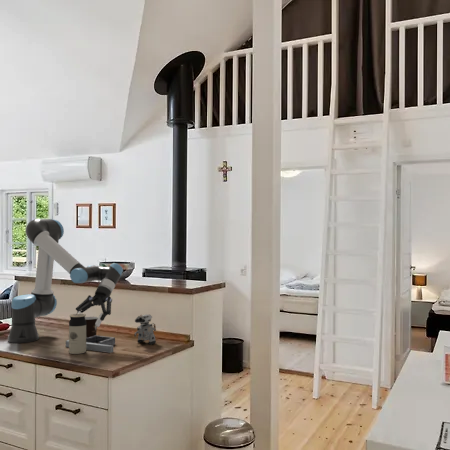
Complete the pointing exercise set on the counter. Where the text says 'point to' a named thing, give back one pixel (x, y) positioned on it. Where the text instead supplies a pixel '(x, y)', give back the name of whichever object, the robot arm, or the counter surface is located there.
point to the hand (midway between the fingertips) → (85, 324)
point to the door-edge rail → (96, 347)
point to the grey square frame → (101, 340)
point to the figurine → (145, 329)
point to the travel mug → (77, 334)
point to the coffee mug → (91, 326)
